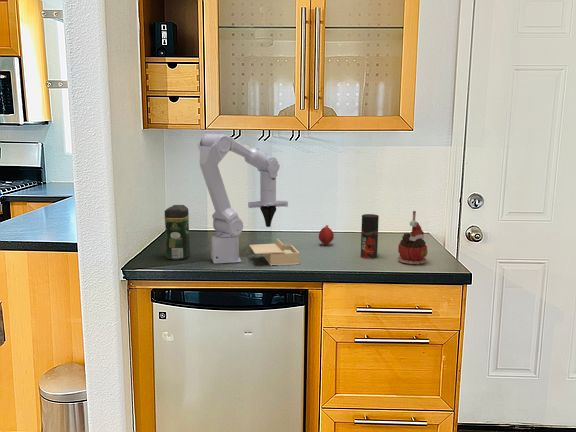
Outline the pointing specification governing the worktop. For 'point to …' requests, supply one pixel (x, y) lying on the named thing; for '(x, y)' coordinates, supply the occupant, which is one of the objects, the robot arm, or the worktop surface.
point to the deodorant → (369, 236)
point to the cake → (413, 245)
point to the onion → (326, 235)
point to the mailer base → (284, 257)
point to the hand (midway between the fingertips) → (268, 226)
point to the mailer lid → (268, 248)
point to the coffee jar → (177, 232)
